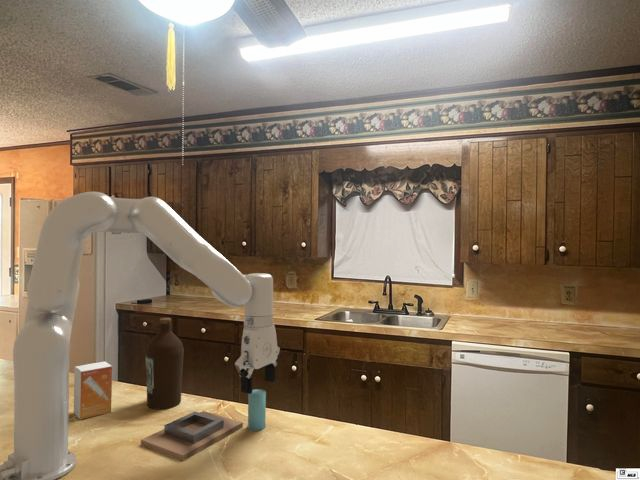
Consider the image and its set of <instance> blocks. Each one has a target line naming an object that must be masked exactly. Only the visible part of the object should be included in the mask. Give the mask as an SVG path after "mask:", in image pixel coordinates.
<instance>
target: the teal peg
mask: <svg viewBox="0 0 640 480" xmlns="http://www.w3.org/2000/svg"><path fill="white" fill-rule="evenodd" d="M247 396H248V401H247V403H248V405H247V408H248V409H247V411H248V412H247V429H248V430H250V431H252V432H254V431H255V432H258V431H259V432H260V431H262V430H264V429H265V428H266V419H267V418H266V417H267V415H266V414H267V413H266V410H267V409H266V406H267V405H266V404H267V399H266V398H267V392H266V390H264V389H259V388H258V389H257V388H256V389H252V393H251V394H248V393H247Z"/></svg>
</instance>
